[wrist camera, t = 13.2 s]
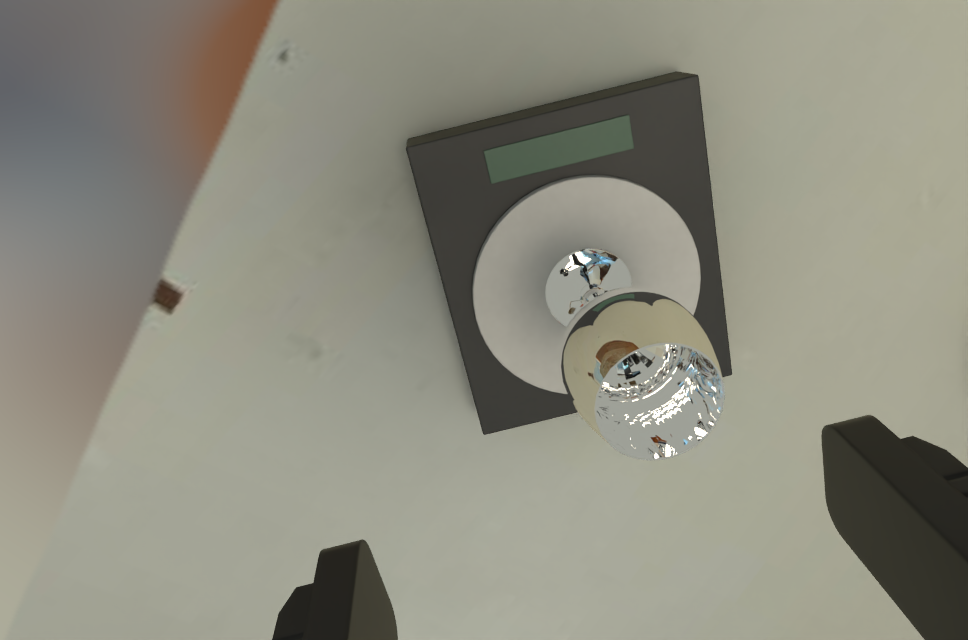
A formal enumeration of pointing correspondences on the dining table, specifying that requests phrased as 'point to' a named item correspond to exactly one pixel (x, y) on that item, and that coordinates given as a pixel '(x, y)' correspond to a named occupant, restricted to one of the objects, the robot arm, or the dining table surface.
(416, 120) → the dining table surface
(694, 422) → the wineglass
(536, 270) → the scale
